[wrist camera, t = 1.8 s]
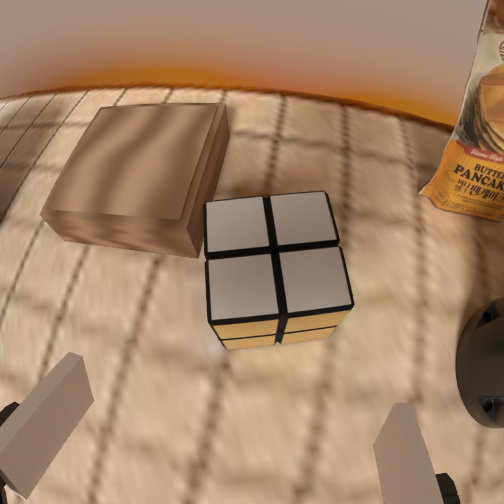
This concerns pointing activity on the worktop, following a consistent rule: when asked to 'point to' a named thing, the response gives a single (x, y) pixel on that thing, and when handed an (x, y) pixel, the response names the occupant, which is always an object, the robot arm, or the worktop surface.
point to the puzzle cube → (274, 269)
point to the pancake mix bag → (477, 133)
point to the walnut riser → (141, 178)
